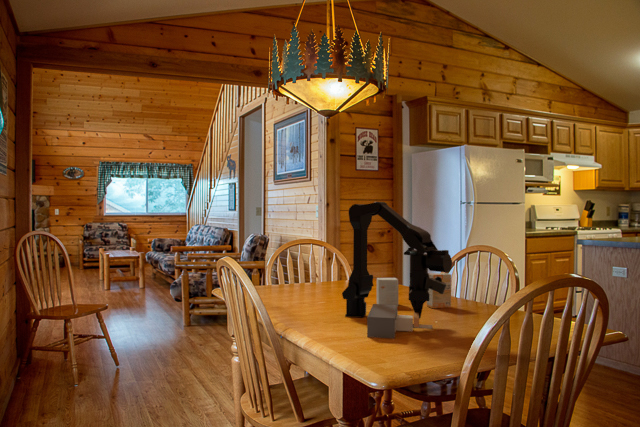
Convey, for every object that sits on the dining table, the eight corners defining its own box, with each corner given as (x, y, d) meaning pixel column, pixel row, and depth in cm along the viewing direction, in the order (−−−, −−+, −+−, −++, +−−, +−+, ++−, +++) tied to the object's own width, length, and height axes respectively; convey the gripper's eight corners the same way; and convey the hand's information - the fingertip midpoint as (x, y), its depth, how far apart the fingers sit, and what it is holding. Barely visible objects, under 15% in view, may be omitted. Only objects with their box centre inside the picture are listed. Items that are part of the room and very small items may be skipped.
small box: (395, 303, 193) (396, 277, 193) (398, 306, 188) (398, 279, 188) (376, 303, 193) (376, 277, 193) (378, 306, 188) (378, 279, 187)
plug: (396, 330, 148) (396, 317, 148) (396, 327, 152) (396, 314, 152) (432, 332, 146) (432, 319, 146) (432, 329, 150) (432, 316, 150)
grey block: (367, 337, 142) (367, 316, 142) (373, 321, 162) (373, 303, 162) (395, 338, 140) (395, 318, 140) (397, 322, 160) (397, 304, 160)
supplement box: (432, 308, 183) (432, 274, 183) (426, 306, 188) (426, 273, 188) (451, 307, 185) (451, 274, 185) (445, 305, 190) (445, 272, 190)
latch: (413, 326, 144) (413, 318, 144) (413, 320, 152) (413, 312, 152) (419, 326, 144) (419, 318, 144) (418, 320, 152) (418, 312, 152)
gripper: (446, 274, 142) (446, 326, 143) (442, 266, 161) (442, 313, 161) (408, 273, 145) (408, 324, 145) (409, 266, 163) (409, 311, 163)
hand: (418, 318), depth 153 cm, fingers closed
